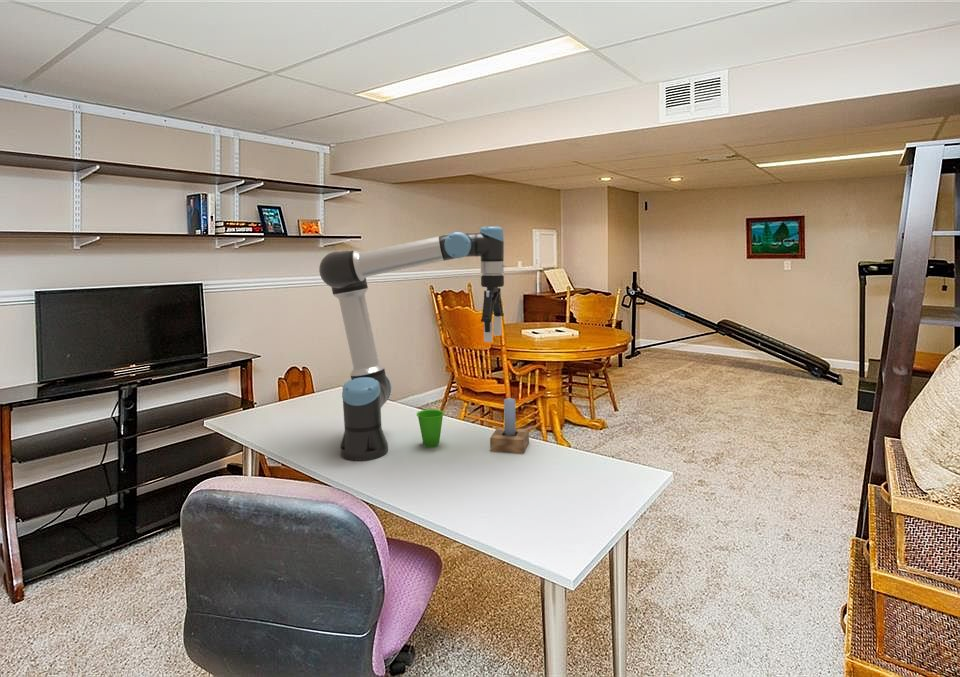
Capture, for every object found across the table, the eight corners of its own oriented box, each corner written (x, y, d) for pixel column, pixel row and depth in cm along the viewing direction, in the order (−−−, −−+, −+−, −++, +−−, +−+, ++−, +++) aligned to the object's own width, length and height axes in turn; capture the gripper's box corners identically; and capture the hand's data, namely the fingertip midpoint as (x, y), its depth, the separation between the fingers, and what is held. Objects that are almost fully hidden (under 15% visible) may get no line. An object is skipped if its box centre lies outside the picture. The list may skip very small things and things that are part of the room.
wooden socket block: (490, 451, 179) (490, 437, 178) (497, 439, 189) (497, 427, 188) (523, 453, 176) (523, 440, 176) (528, 442, 187) (528, 429, 186)
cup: (440, 450, 180) (439, 417, 178) (414, 448, 182) (412, 416, 180) (447, 441, 189) (447, 409, 187) (422, 439, 191) (421, 408, 189)
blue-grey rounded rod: (503, 448, 181) (503, 400, 179) (505, 444, 185) (505, 397, 182) (514, 449, 180) (514, 401, 178) (516, 445, 184) (516, 398, 181)
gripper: (495, 276, 169) (495, 345, 173) (511, 272, 193) (511, 333, 196) (471, 276, 171) (472, 344, 174) (490, 272, 195) (490, 332, 198)
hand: (493, 338), depth 185 cm, fingers open, 13 cm apart
